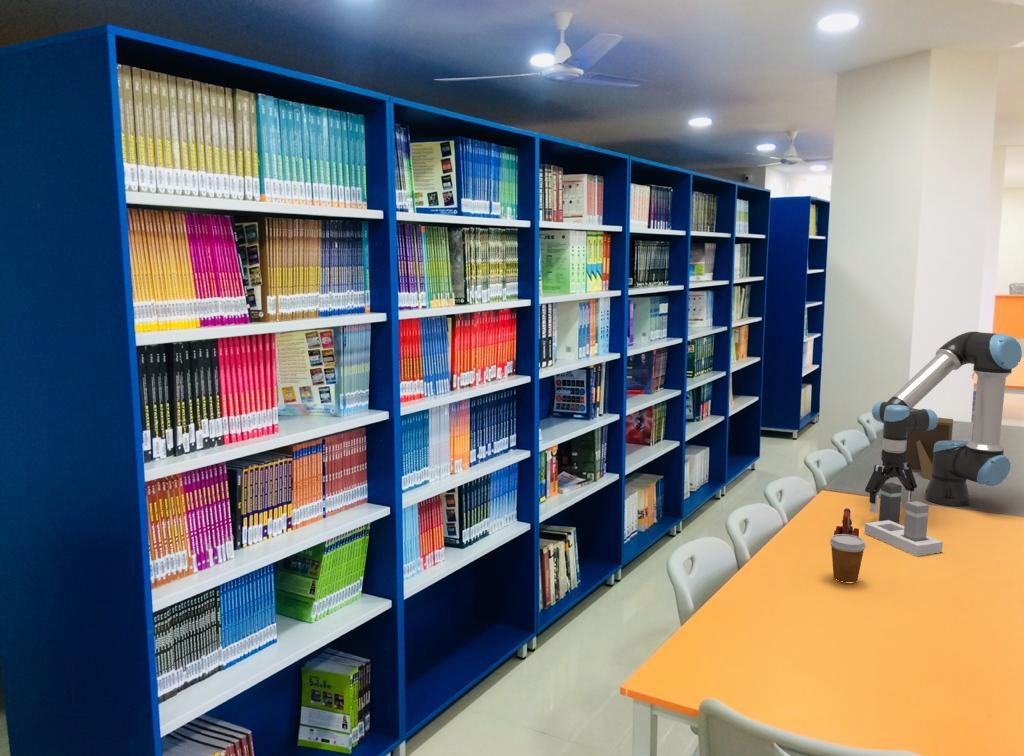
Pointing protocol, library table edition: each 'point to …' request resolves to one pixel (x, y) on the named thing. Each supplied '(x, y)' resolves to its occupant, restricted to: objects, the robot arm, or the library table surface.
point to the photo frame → (926, 446)
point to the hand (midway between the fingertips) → (889, 510)
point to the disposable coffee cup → (846, 556)
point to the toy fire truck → (846, 525)
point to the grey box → (890, 502)
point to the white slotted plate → (902, 538)
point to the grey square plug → (916, 521)
